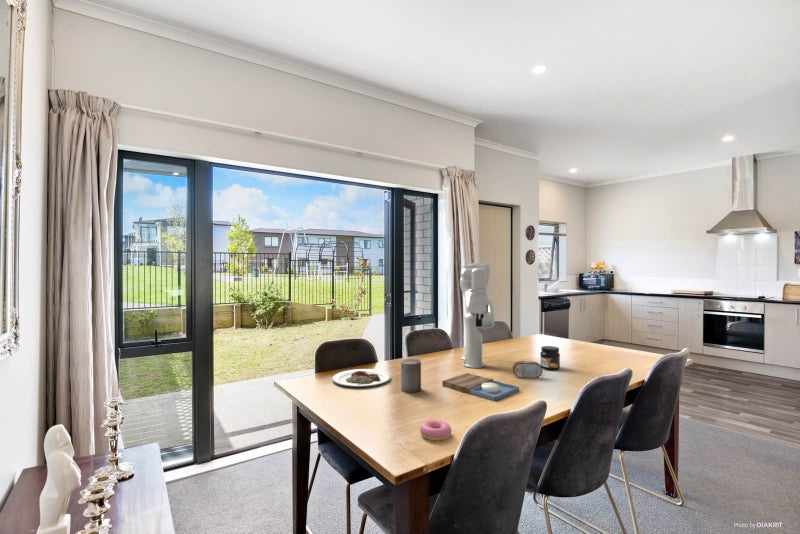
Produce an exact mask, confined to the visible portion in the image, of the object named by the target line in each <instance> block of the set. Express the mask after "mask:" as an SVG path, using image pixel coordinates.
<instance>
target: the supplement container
mask: <svg viewBox="0 0 800 534" xmlns="http://www.w3.org/2000/svg"><path fill="white" fill-rule="evenodd" d="M540 349H541V350H540V353H539V355H540V366H541V367H542V370H545V371H553V372H554V371H559V370H560V369H561V361H560V360H561V353H560V347H558V346H553V345H544V346H541V348H540Z"/></svg>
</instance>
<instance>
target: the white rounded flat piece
mask: <svg viewBox="0 0 800 534" xmlns="http://www.w3.org/2000/svg"><path fill="white" fill-rule="evenodd" d="M482 391H483V392H486V393H498V392H499V385H498V384H496V383H483V384H482Z"/></svg>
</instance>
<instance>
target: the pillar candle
mask: <svg viewBox="0 0 800 534" xmlns="http://www.w3.org/2000/svg"><path fill="white" fill-rule="evenodd" d="M421 361H422V360H420V359H417V358H406V359H402V360H401V361H400V390H401V391H402V392H404V393H409V394H410V393H412V394H413V393H419V392H420V391H421V390H422V362H421Z"/></svg>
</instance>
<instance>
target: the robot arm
mask: <svg viewBox="0 0 800 534" xmlns="http://www.w3.org/2000/svg"><path fill="white" fill-rule="evenodd" d="M490 270H491V269H490V265H488V263H486V262H472V263H469V264H467V265H465V266H462V267H461V270H460V278H459V287H460V290H461V292H462V295H463V296H464V303H465V304H464V305H465V310H466V312H467V313H465V315H464V318H463V319H464V327H465V356H464V355H463V356H461V359H460V360H461V361H464V362H463V366H464V367H465V368H470V369H481V368H484V367H486V363H484V362H483V334H482V333H481V332H480V331H479V330H480V329H492V328H494V327H495V322H496V321H495V320H496V319H495V313H494V306H493V303H492V301H491V300H490V299H489V297H488V294H487V286H488V284H489V280H490V273H491V271H490Z"/></svg>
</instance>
